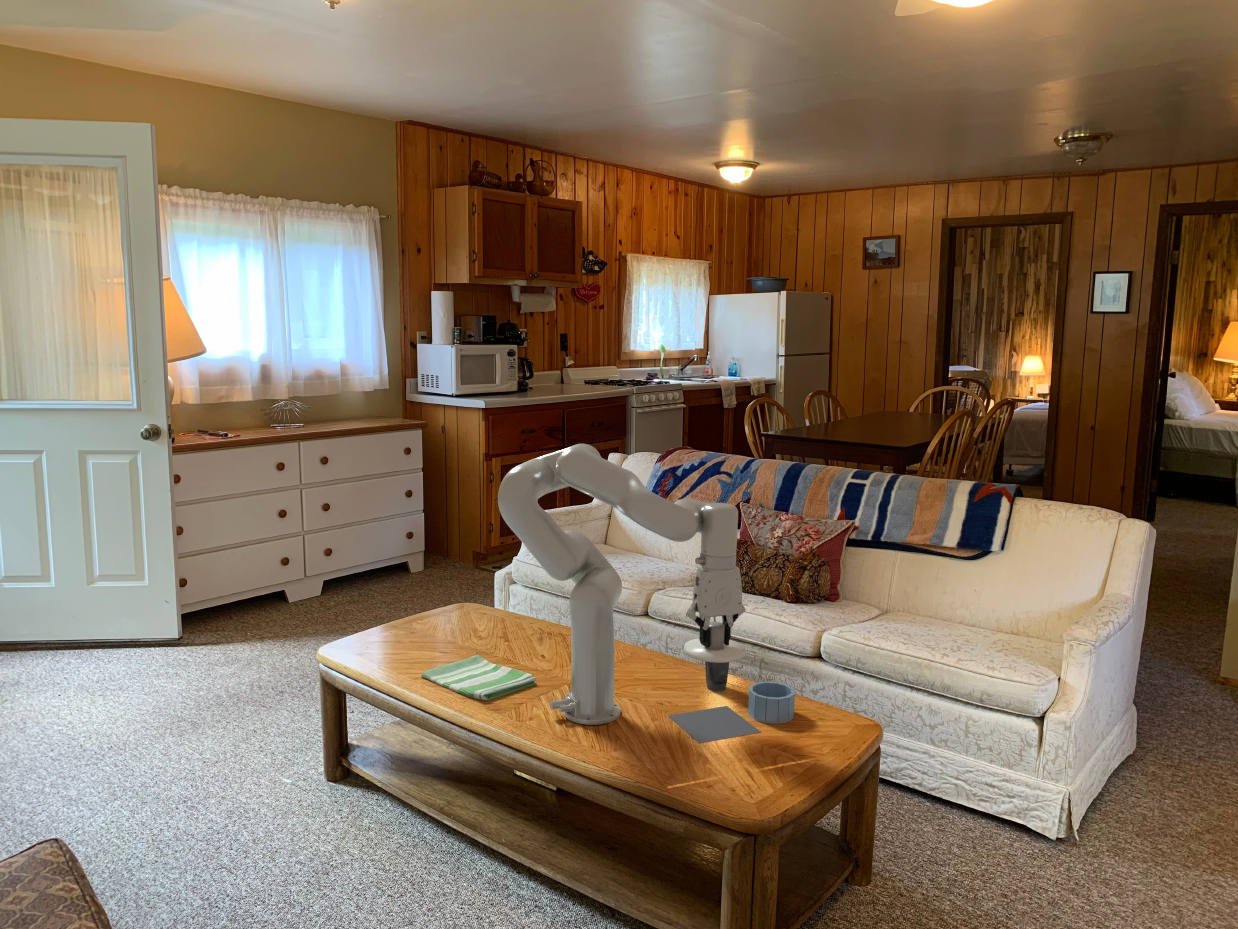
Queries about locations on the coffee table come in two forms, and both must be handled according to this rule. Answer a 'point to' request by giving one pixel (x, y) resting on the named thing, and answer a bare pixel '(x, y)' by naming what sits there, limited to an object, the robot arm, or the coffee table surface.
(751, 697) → the bowl
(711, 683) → the beverage cup
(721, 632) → the lid
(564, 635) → the coffee table surface
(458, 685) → the dish towel
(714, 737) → the mat
